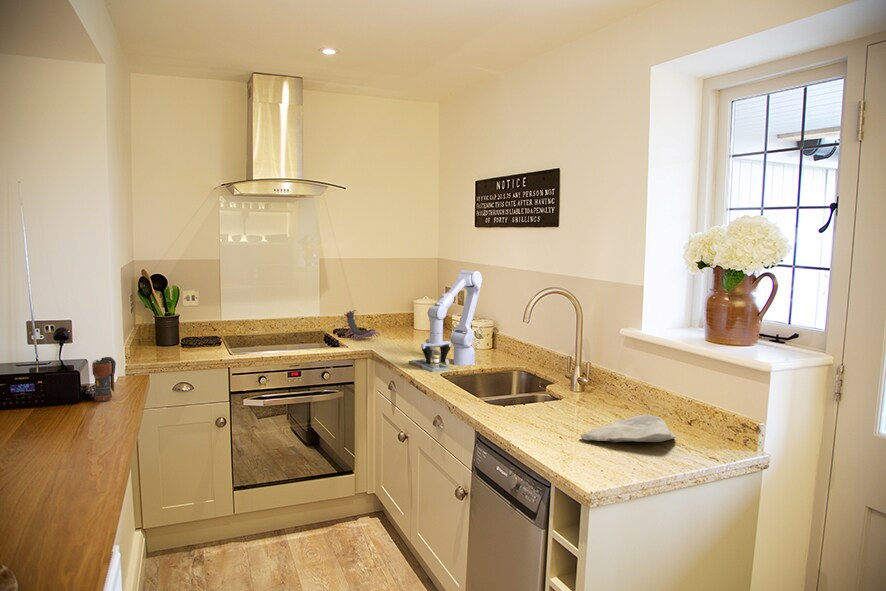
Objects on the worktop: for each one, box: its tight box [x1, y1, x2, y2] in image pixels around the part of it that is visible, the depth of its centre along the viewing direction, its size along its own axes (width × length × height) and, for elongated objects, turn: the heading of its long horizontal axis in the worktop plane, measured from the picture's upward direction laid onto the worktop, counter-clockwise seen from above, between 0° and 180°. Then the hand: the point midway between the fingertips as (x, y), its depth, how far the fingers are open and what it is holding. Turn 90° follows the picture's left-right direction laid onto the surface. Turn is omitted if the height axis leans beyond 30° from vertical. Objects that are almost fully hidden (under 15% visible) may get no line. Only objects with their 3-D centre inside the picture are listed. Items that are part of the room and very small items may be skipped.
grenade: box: [91, 356, 117, 403], centre depth 213 cm, size 6×8×15 cm
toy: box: [340, 310, 381, 341], centre depth 342 cm, size 12×26×15 cm, turn 43°
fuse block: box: [408, 358, 432, 369], centre depth 277 cm, size 8×10×2 cm
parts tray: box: [421, 363, 451, 373], centre depth 269 cm, size 9×9×2 cm
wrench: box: [425, 338, 450, 366], centre depth 291 cm, size 8×2×30 cm
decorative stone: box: [580, 414, 677, 443], centre depth 186 cm, size 28×7×30 cm
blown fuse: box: [431, 355, 440, 369], centre depth 269 cm, size 3×3×6 cm
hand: (435, 363), depth 269 cm, fingers open, 7 cm apart
